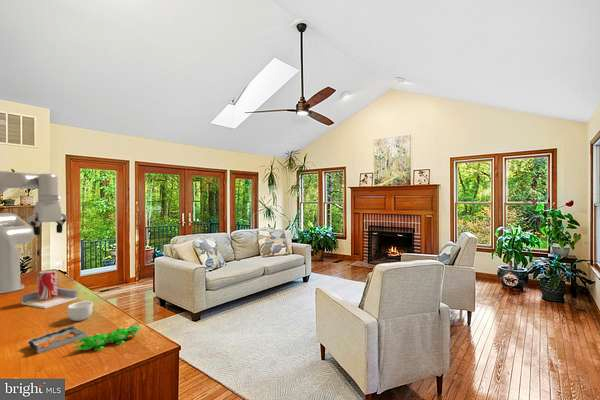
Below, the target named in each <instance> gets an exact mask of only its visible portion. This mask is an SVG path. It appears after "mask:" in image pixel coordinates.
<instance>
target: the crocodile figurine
mask: <svg viewBox="0 0 600 400" xmlns="http://www.w3.org/2000/svg"><path fill="white" fill-rule="evenodd" d="M140 328H141V325H138V324H137V325H136V324H131V325H130V326H129V327H127V328H124V327H122V328H121V327H118V328H117V329H116V330H112V331H109V332H107V333H104V332H102V333H100V334H98V333H94V336H93V335H86V337H85V338H82V339H81V340H78V341H75V342H72V343H73V345H74V346H73V347H72V348H73V351H85V350H86V351H87V350H91V349H93V348H94V350H93V351H100V349H101V350H102V349H104V348H105V345H106V344H109V343H112V344H113V343H114V342H115V345H122V344H124V343H125V340H127V338H128V337H129V336H133V337H136V336H137V334H136V333H137V332H138V330H140ZM123 339H125V340H123ZM80 343H81V344H80ZM121 343H122V344H121Z"/></svg>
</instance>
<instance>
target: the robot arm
mask: <svg viewBox="0 0 600 400" xmlns="http://www.w3.org/2000/svg"><path fill="white" fill-rule="evenodd" d="M58 183H59V181H58V176H57V174H54V173H30V172H14V171H13V172H11V171H9V170H7V171H5V170H4V171H3V170H0V196H2V195H3V194H4V193H5V192H6V191H7V190H8V189H21V190H22V189H23V190H24V189H26V190H27V189H28V190H29V189H30V190H31V189H33V190H37V201H35V204H34V207H33V214H32V215H30V216H28V217H26V220H27V222H28V223H27V222H26V221H25V220H23V219H22V218H21V217H20V216H19V215H17V214H15V213H11V212H0V294H5V293H6V294H7V293H12V292H17V291H20V290H23V289H25V284H22V283H21V254H20V251H19V249H18V248H17V247H16V245H17V246H18V245H21V244H22V245H23V244H28V243H30V242H31V241H33V240H34V239H35V238H36V237H35V236H40V235H41V227H40V225H41V224H42V223H53V222H55V223H56V224H55V225H56V233H57V234H62V233H63V225H64V224H65V223H66V221H67V220H68V215H67V214H64V213H62V208H61V204H60V201H59V200H61V196H59V191H58V190H59V189H58Z"/></svg>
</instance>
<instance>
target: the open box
mask: <svg viewBox="0 0 600 400" xmlns="http://www.w3.org/2000/svg"><path fill="white" fill-rule="evenodd" d="M20 299H21V305H26V306H29V307H35V308H40V309H48V308H51V307H54V306H58V305H60V304H65V303H67V302H71V301H75V300H78V290H77V289H71V288H65V287H64V288H63V287H58V295H57V296H56V297H55V298H53V299H49V300H41V299H38V290H37V291H33V292H29V293H25V294H21V298H20Z"/></svg>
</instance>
